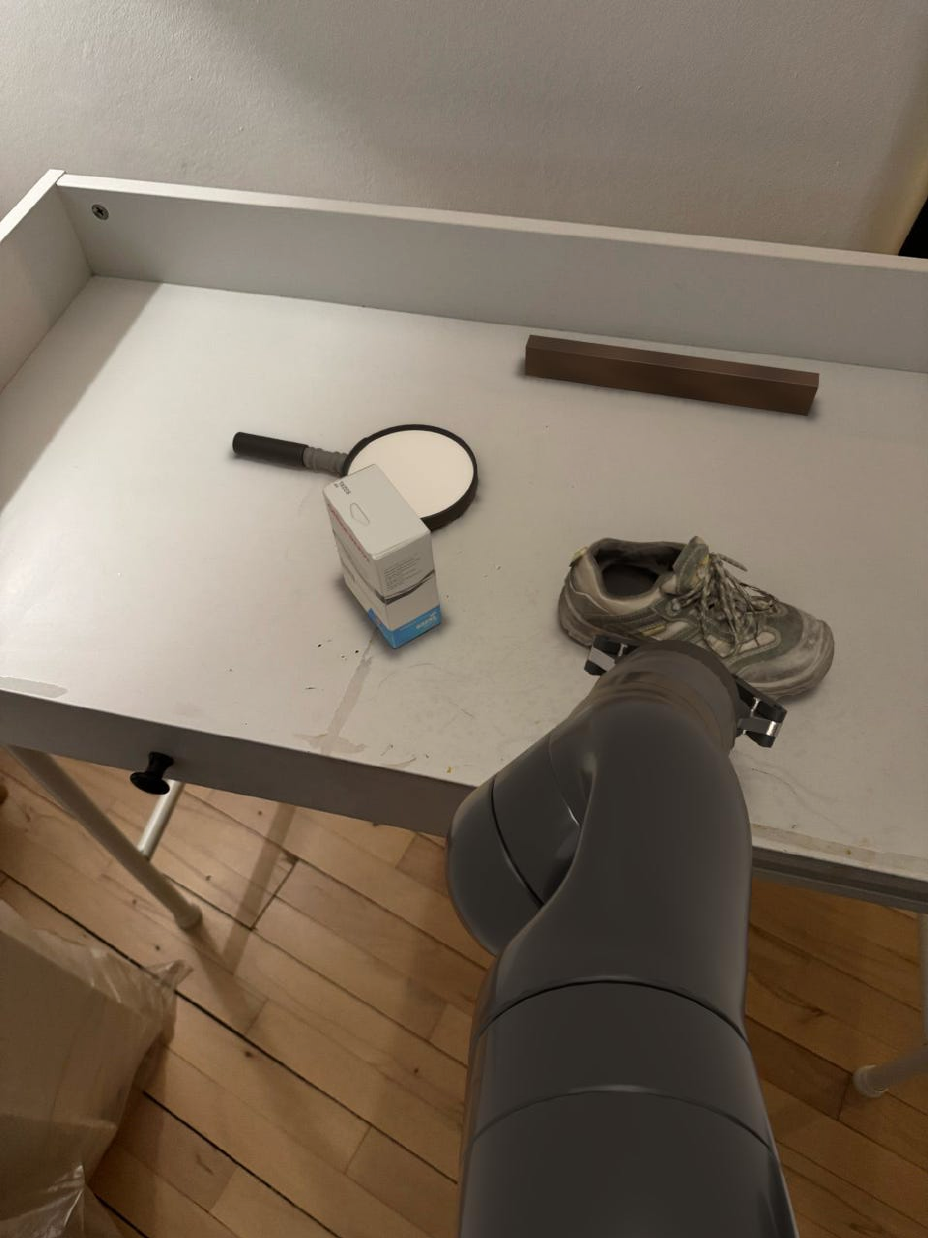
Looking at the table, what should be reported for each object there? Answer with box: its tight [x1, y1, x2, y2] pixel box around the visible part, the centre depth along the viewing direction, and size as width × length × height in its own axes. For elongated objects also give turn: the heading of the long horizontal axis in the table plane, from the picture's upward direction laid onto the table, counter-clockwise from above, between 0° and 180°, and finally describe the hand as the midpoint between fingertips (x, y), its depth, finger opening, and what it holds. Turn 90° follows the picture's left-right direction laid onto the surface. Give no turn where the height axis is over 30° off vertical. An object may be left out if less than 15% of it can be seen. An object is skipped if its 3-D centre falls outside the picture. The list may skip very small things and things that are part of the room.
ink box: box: [321, 464, 442, 649], centre depth 65 cm, size 8×5×12 cm, turn 32°
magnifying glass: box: [231, 423, 479, 531], centre depth 78 cm, size 12×24×2 cm, turn 73°
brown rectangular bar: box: [524, 334, 820, 416], centre depth 82 cm, size 28×2×4 cm, turn 74°
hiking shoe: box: [557, 535, 835, 701], centre depth 63 cm, size 9×21×12 cm
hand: (697, 665), depth 60 cm, fingers closed
